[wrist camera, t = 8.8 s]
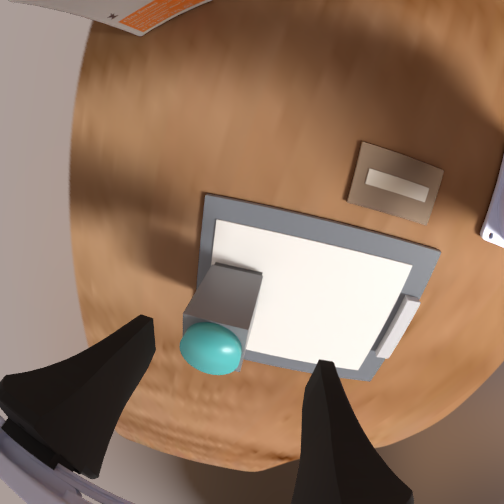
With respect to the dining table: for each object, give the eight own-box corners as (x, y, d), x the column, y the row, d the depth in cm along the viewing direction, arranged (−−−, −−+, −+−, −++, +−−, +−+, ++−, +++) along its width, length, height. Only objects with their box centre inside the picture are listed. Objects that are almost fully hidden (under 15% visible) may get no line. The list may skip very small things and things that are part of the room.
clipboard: (439, 249, 18) (444, 256, 17) (369, 378, 24) (370, 386, 23) (207, 193, 19) (201, 197, 18) (194, 342, 25) (190, 350, 24)
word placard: (442, 169, 15) (444, 170, 15) (425, 224, 17) (427, 226, 17) (361, 141, 16) (362, 141, 15) (346, 201, 18) (347, 202, 17)
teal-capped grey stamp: (264, 271, 20) (245, 340, 14) (255, 311, 22) (237, 381, 16) (214, 260, 20) (177, 322, 14) (210, 300, 22) (178, 366, 16)
